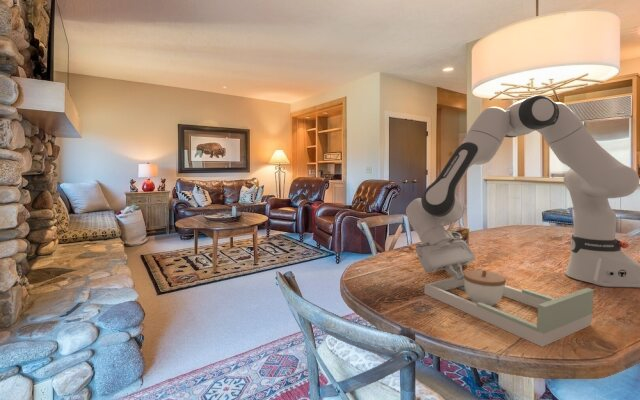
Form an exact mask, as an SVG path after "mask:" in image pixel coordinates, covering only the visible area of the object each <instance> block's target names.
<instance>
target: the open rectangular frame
mask: <svg viewBox="0 0 640 400" xmlns="http://www.w3.org/2000/svg"><path fill="white" fill-rule="evenodd" d="M521 290H522V293H525V294H528V295H531V296H534V297H537V298H540V299H543V300H546V301H547V302H545V303H542V304H539V305H538V308H537V317H536V318H537V320H536V322H537V323H536V324H535V323H533V322H530V321H528V320H527V319H526V320H525V319H524V318H521V317H518V316H516V315H513V314H511V313H509V312H506V311H503V310H501V309H499V308H496V307H494V306H489V305H486V304H484V303H481V302H479V303H477V307H480V308H482V309H485V310H487V311H489V312H492V313H494V314H496V315H499V316H501V317H504V318H506V319H508V320H511V321H513V322H516V323H518V324H520V325H523V326H525V327H528V328H530V329H532V330H535V331H538V332H540V333H542V334H545V333H547V332H549V331H552V330H554V329H557V328H559V327H561V326H564V325H566V324H568V323H571V322H573V321H576V320H578V319H580V318H583V317H585V316H588V315H590V314H593V308H594V307H593V306H594V295H595V294H594V293H595V290H594V289H592V288H590V287H586V288H582V289H579V290H576V291H574V292H571V293H568V294H565V295H562V296H560V297H557V298H555V297H551V296H549V295H546V294H543V293H540V292H537V291H533V290H530V289H527V288H524V289H521Z"/></svg>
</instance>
